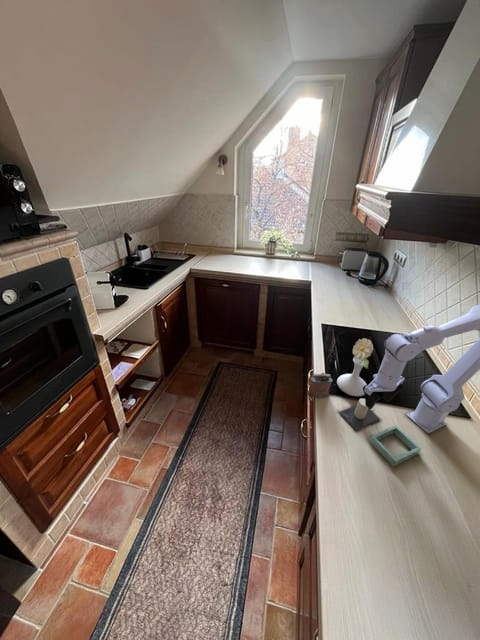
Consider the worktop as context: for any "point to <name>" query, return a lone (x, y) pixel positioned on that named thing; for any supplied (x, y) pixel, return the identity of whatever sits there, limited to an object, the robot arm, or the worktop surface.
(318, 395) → the lighter
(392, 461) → the green rectangular frame
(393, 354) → the robot arm
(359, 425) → the slate mat
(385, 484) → the worktop surface
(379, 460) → the worktop surface
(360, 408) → the shaving stick
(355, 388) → the flower in vase
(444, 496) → the worktop surface
